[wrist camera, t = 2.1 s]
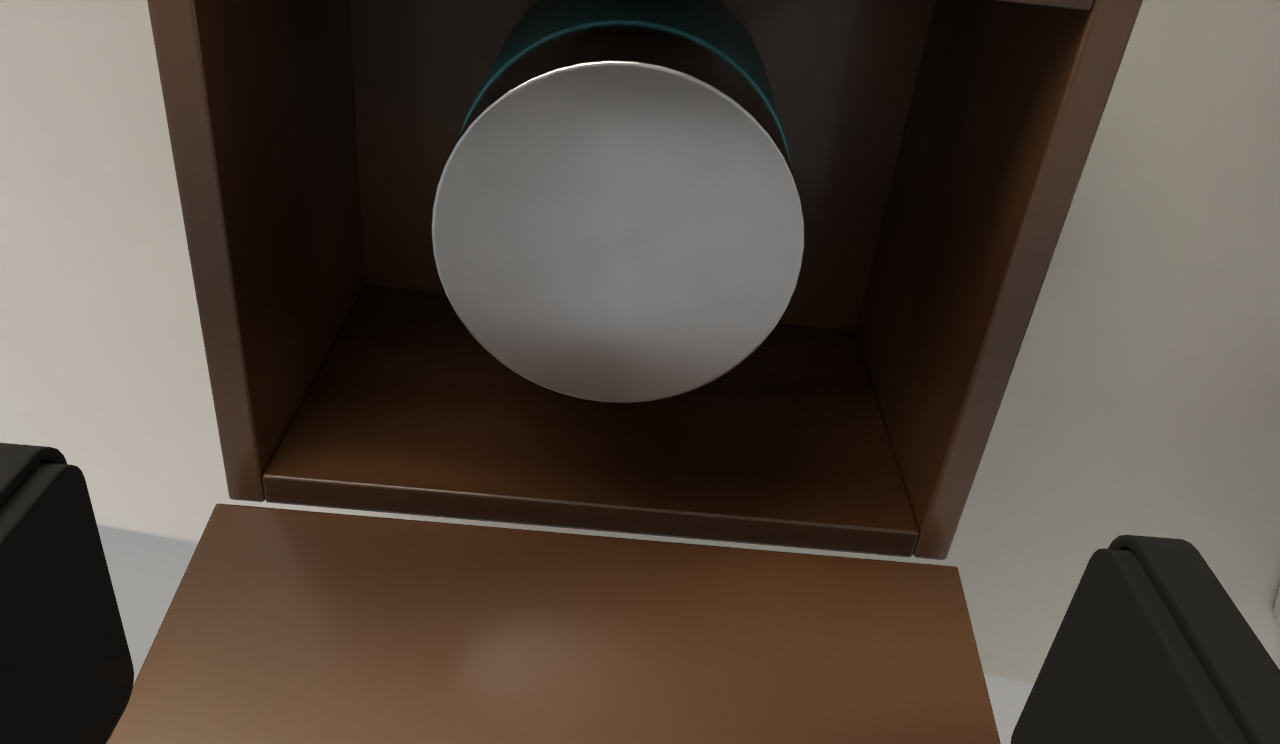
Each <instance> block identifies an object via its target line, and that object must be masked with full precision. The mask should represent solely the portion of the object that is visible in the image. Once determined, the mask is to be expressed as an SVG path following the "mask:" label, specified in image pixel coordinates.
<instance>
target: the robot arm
mask: <svg viewBox="0 0 1280 744" xmlns="http://www.w3.org/2000/svg"><path fill="white" fill-rule="evenodd" d="M133 681H134V670H133V664H132V660H131V656H130V652H129V649H128V645H127V641H126V637H125V633H124V629H123V625H122V621H121V617H120V613H119V610H118V606H117V602H116V598H115V594H114V590H113V586H112V582H111V579H110V575H109V571H108V567H107V563H106V559H105V555H104V552H103V548H102V544H101V540H100V536H99V532H98V528H97V524H96V520H95V516H94V512H93V509H92V505H91V501H90V497H89V493H88V489H87V485H86V481H85V478H84V475H83V473H82V471H81V470H80V469H79V468H78V467H77V466H73V465H68V464H67V462H66V460H65V457H64V455H63V454H62V453H61V452H60V451H59V450H58V449H55V448H51V447H43V446H31V445H18V444H6V443H0V744H106V743H107V741H108V739H109V738H110V736H111V734H112V732H113V730H114V729H115V727H116V725H117V723H118V722H119V720H120V718H121V716H122V714H123V713H124V711H125V709H126V706H127V704H128V702H129V699H130V696H131V693H132V688H133ZM1011 744H1280V670H1279V669H1278V667H1277V666H1276V664H1275V663H1274V661H1273V660H1272V658H1271V657H1270V655H1269V654H1268V653H1267V651H1266V650H1265V648H1264V647H1263V645H1262V644H1261V642H1260V641H1259V639H1258V638H1257V636H1256V635H1255V634H1254V632H1253V631H1252V629H1251V628H1250V626H1249V625H1248V623H1247V622H1246V620H1245V619H1244V617H1243V616H1242V614H1241V613H1240V612H1239V610H1238V609H1237V607H1236V606H1235V604H1234V603H1233V601H1232V600H1231V598H1230V597H1229V595H1228V594H1227V593H1226V591H1225V590H1224V588H1223V587H1222V585H1221V584H1220V582H1219V581H1218V579H1217V578H1216V576H1215V575H1214V573H1213V572H1212V571H1211V569H1210V568H1209V566H1208V565H1207V563H1206V562H1205V560H1204V559H1203V557H1202V556H1201V554H1200V553H1199V552H1198V550H1197V549H1196V548H1195V547H1194V546H1193V545H1192V544H1191V543H1189V542H1187V541H1185V540H1183V539H1171V538H1158V537H1146V536H1134V535H1122V536H1119V537H1117V538H1116V539H1115V540H1113V541H1112V543H1111V544H1110V546H1109V548H1108V549H1098V550H1097V551H1096V552H1094V553H1093V555H1092V557H1091V558H1090V560H1089V562H1088V565H1087V567H1086V569H1085V571H1084V574H1083V576H1082V578H1081V580H1080V583H1079V585H1078V587H1077V589H1076V592H1075V594H1074V596H1073V598H1072V601H1071V603H1070V605H1069V607H1068V610H1067V612H1066V614H1065V616H1064V619H1063V621H1062V623H1061V625H1060V628H1059V630H1058V632H1057V634H1056V637H1055V639H1054V641H1053V643H1052V646H1051V648H1050V650H1049V652H1048V655H1047V657H1046V659H1045V661H1044V664H1043V666H1042V668H1041V670H1040V673H1039V675H1038V677H1037V679H1036V682H1035V684H1034V686H1033V689H1032V691H1031V693H1030V695H1029V697H1028V700H1027V702H1026V705H1025V706H1024V709H1023V711H1022V713H1021V716H1020V718H1019V720H1018V722H1017V725H1016V727H1015V729H1014V731H1013V735H1012V738H1011Z"/></svg>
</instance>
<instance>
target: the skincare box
mask: <svg viewBox="0 0 1280 744" xmlns="http://www.w3.org/2000/svg"><path fill="white" fill-rule="evenodd" d="M1273 616H1274V617H1275V618H1276V619H1277V620H1278V621H1279V623H1280V586H1279V591H1278V595H1277V598H1276V602H1275V605H1274V609H1273Z"/></svg>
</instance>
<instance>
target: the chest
mask: <svg viewBox="0 0 1280 744" xmlns="http://www.w3.org/2000/svg"><path fill="white" fill-rule="evenodd" d="M147 1H148V7H149V13H150V19H151V25H152V31H153V37H154V43H155V49H156V55H157V61H158V67H159V73H160V79H161V85H162V92H163V98H164V104H165V110H166V116H167V122H168V128H169V134H170V140H171V146H172V152H173V158H174V164H175V170H176V176H177V182H178V188H179V194H180V200H181V207H182V213H183V219H184V225H185V231H186V237H187V243H188V249H189V255H190V261H191V267H192V273H193V279H194V285H195V291H196V297H197V303H198V309H199V315H200V321H201V328H202V334H203V340H204V346H205V352H206V358H207V364H208V370H209V376H210V382H211V388H212V394H213V400H214V406H215V412H216V418H217V424H218V430H219V436H220V443H221V449H222V455H223V461H224V467H225V473H226V479H227V485H228V491H229V497H230V499H234V500H245V501H257V502H263V501H264V500H266V501H267V502H270V503H282V504H294V505H305V506H317V507H329V508H340V509H352V510H364V511H375V512H387V513H399V514H410V515H422V516H434V517H445V518H457V519H469V520H480V521H492V522H504V523H515V524H527V525H539V526H550V527H562V528H574V529H585V530H597V531H609V532H620V533H632V534H644V535H655V536H667V537H679V538H690V539H702V540H714V541H725V542H737V543H749V544H760V545H772V546H784V547H795V548H807V549H818V550H830V551H842V552H853V553H865V554H877V555H888V556H900V557H911V556H912V554H913V556H914V557H916V558H926V559H938V560H944V559H946V557H947V554H948V551H949V548H950V546H951V543H952V540H953V537H954V534H955V531H956V529H957V526H958V523H959V520H960V517H961V514H962V512H963V509H964V506H965V503H966V500H967V497H968V495H969V492H970V489H971V486H972V483H973V480H974V478H975V475H976V472H977V469H978V466H979V463H980V460H981V458H982V455H983V452H984V449H985V446H986V443H987V441H988V438H989V435H990V432H991V429H992V426H993V424H994V421H995V418H996V415H997V412H998V409H999V407H1000V404H1001V401H1002V398H1003V395H1004V392H1005V390H1006V387H1007V384H1008V381H1009V378H1010V375H1011V373H1012V370H1013V367H1014V364H1015V361H1016V358H1017V356H1018V353H1019V350H1020V347H1021V344H1022V341H1023V338H1024V336H1025V333H1026V330H1027V327H1028V324H1029V321H1030V319H1031V316H1032V313H1033V310H1034V307H1035V304H1036V302H1037V299H1038V296H1039V293H1040V290H1041V287H1042V285H1043V282H1044V279H1045V276H1046V273H1047V270H1048V268H1049V265H1050V262H1051V259H1052V256H1053V253H1054V251H1055V248H1056V245H1057V242H1058V239H1059V236H1060V233H1061V231H1062V228H1063V225H1064V222H1065V219H1066V216H1067V214H1068V211H1069V208H1070V205H1071V202H1072V199H1073V197H1074V194H1075V191H1076V188H1077V185H1078V182H1079V180H1080V177H1081V174H1082V171H1083V168H1084V165H1085V163H1086V160H1087V157H1088V154H1089V151H1090V148H1091V146H1092V143H1093V140H1094V137H1095V134H1096V131H1097V129H1098V126H1099V123H1100V120H1101V117H1102V114H1103V111H1104V109H1105V106H1106V103H1107V100H1108V97H1109V94H1110V92H1111V89H1112V86H1113V83H1114V80H1115V77H1116V75H1117V72H1118V69H1119V66H1120V63H1121V60H1122V58H1123V55H1124V52H1125V49H1126V46H1127V43H1128V41H1129V38H1130V35H1131V32H1132V29H1133V26H1134V24H1135V21H1136V18H1137V15H1138V12H1139V9H1140V6H1141V4H1142V1H1143V0H734V1H735V3H736V4H737V6H738V7H739V9H740V11H741V12H742V14H743V16H744V18H745V20H746V22H747V24H748V26H749V28H750V31H751V34H752V37H753V40H754V43H755V46H756V48H757V50H758V52H759V54H760V56H761V59H762V62H763V65H764V68H765V72H766V75H767V78H768V81H769V85H770V88H771V91H772V94H773V98H774V101H775V104H776V107H777V111H778V114H779V117H780V120H781V123H782V127H783V130H784V133H785V136H786V140H787V143H788V146H789V152H790V158H791V164H792V170H793V173H794V177H795V180H796V183H797V186H798V190H799V193H800V196H801V201H802V207H803V214H804V220H805V247H804V255H803V263H802V268H801V271H800V275H799V279H798V282H797V286H796V289H795V291H794V293H793V295H792V298H791V300H790V302H789V305H788V307H787V309H786V310H785V312H784V314H783V315H782V317H781V319H780V320H779V322H778V323H777V325H776V326H775V328H774V329H773V330H772V331H771V333H770V334H769V335H768V336H767V338H766V339H765V340H764V341H763V343H762V344H761V345H760V346H759V347H758V348H757V349H756V350H755V351H754V352H752V353H751V354H750V355H749V356H748V357H747V358H746V359H745V360H744V361H742V362H741V363H740V364H738V365H737V366H736V367H734V368H733V369H732V370H730V371H729V372H727V373H725V374H724V375H722V376H720V377H718V378H717V379H715V380H713V381H712V382H710V383H707V384H705V385H703V386H700V387H698V388H696V389H693V390H691V391H688V392H685V393H682V394H678V395H675V396H672V397H668V398H662V399H657V400H651V401H643V402H629V403H618V402H601V401H594V400H587V399H581V398H577V397H573V396H569V395H565V394H561V393H558V392H556V391H553V390H551V389H548V388H545V387H543V386H540V385H538V384H536V383H534V382H532V381H530V380H528V379H526V378H524V377H522V376H520V375H519V374H517V373H516V372H514V371H513V370H511V369H510V368H508V367H507V366H505V365H504V364H502V363H501V362H500V361H499V360H498V359H496V358H495V357H494V356H493V355H492V354H490V353H489V352H488V351H487V350H486V349H485V348H484V347H483V346H482V345H481V344H480V343H479V342H478V341H477V340H476V339H475V338H474V337H473V335H472V334H471V333H470V332H469V331H468V329H467V328H466V326H465V325H464V324H463V322H462V321H461V320H460V318H459V317H458V315H457V314H456V312H455V310H454V308H453V306H452V304H451V303H450V301H449V299H448V297H447V295H446V293H445V290H444V288H443V285H442V282H441V280H440V277H439V275H438V271H437V266H436V262H435V258H434V254H433V244H432V233H431V225H432V207H433V202H434V197H435V192H436V187H437V184H438V181H439V178H440V175H441V172H442V170H443V167H444V164H445V162H446V160H447V158H448V156H449V154H450V152H451V150H452V149H453V147H454V145H455V143H456V141H457V139H458V137H459V134H460V132H461V129H462V126H463V123H464V121H465V118H466V115H467V113H468V111H469V109H470V107H471V106H472V104H473V102H474V100H475V98H476V96H477V94H478V92H479V91H480V89H481V87H482V85H483V83H484V81H485V79H486V77H487V75H488V74H489V72H490V70H491V68H492V66H493V64H494V62H495V60H496V59H497V57H498V55H499V53H500V51H501V49H502V47H503V45H504V44H505V42H506V40H507V38H508V36H509V34H510V32H511V31H512V29H513V28H514V27H515V25H516V24H517V23H518V21H519V20H520V18H521V16H522V15H523V13H524V11H525V9H526V7H527V6H528V4H529V3H530V2H531V0H147Z"/></svg>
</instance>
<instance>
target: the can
mask: <svg viewBox="0 0 1280 744" xmlns="http://www.w3.org/2000/svg"><path fill="white" fill-rule="evenodd" d="M431 233H432V244H433V254H434V258H435V262H436V266H437V271H438V275H439V277H440V280H441V282H442V285H443V288H444V290H445V293H446V295H447V297H448V299H449V301H450V303H451V304H452V306H453V308H454V310H455V312H456V314H457V315H458V317H459V318H460V320H461V321H462V322H463V324H464V325H465V326H466V328H467V329H468V331H469V332H470V333H471V334H472V335H473V337H474V338H475V339H476V340H477V341H478V342H479V343H480V344H481V345H482V346H483V347H484V348H485V349H486V350H487V351H488V352H489V353H490V354H492V355H493V356H494V357H495V358H496V359H498V360H499V361H500V362H501V363H502V364H504V365H505V366H507V367H508V368H510V369H511V370H513V371H514V372H516V373H517V374H519V375H520V376H522V377H524V378H526V379H528V380H530V381H532V382H534V383H536V384H538V385H540V386H543V387H545V388H548V389H551V390H553V391H556V392H558V393H561V394H565V395H569V396H573V397H577V398H581V399H587V400H594V401H601V402H618V403H629V402H643V401H651V400H657V399H662V398H668V397H672V396H675V395H678V394H682V393H685V392H688V391H691V390H693V389H696V388H698V387H700V386H703V385H705V384H707V383H710V382H712V381H713V380H715V379H717V378H718V377H720V376H722V375H724V374H725V373H727V372H729V371H730V370H732V369H733V368H734V367H736V366H737V365H738V364H740V363H741V362H742V361H744V360H745V359H746V358H747V357H748V356H749V355H750V354H751V353H752V352H754V351H755V350H756V349H757V348H758V347H759V346H760V345H761V344H762V343H763V341H764V340H765V339H766V338H767V336H768V335H769V334H770V333H771V331H772V330H773V329H774V328H775V326H776V325H777V323H778V322H779V320H780V319H781V317H782V315H783V314H784V312H785V310H786V309H787V307H788V305H789V302H790V300H791V298H792V295H793V293H794V291H795V289H796V286H797V282H798V279H799V275H800V271H801V268H802V263H803V255H804V247H805V220H804V214H803V207H802V201H801V196H800V193H799V190H798V186H797V183H796V180H795V177H794V173H793V170H792V164H791V158H790V152H789V146H788V143H787V140H786V136H785V133H784V130H783V127H782V123H781V120H780V117H779V114H778V111H777V107H776V104H775V101H774V98H773V94H772V91H771V88H770V85H769V81H768V78H767V75H766V72H765V68H764V65H763V62H762V59H761V56H760V54H759V52H758V50H757V48H756V46H755V43H754V40H753V37H752V34H751V31H750V28H749V26H748V24H747V22H746V20H745V18H744V16H743V14H742V12H741V11H740V9H739V7H738V6H737V4H736V3H735V1H734V0H531V2H530V3H529V4H528V6H527V7H526V9H525V11H524V13H523V15H522V16H521V18H520V20H519V21H518V23H517V24H516V25H515V27H514V28H513V29H512V31H511V32H510V34H509V36H508V38H507V40H506V42H505V44H504V45H503V47H502V49H501V51H500V53H499V55H498V57H497V59H496V60H495V62H494V64H493V66H492V68H491V70H490V72H489V74H488V75H487V77H486V79H485V81H484V83H483V85H482V87H481V89H480V91H479V92H478V94H477V96H476V98H475V100H474V102H473V104H472V106H471V107H470V109H469V111H468V113H467V115H466V118H465V121H464V123H463V126H462V129H461V132H460V134H459V137H458V139H457V141H456V143H455V145H454V147H453V149H452V150H451V152H450V154H449V156H448V158H447V160H446V162H445V164H444V167H443V170H442V172H441V175H440V178H439V181H438V184H437V187H436V192H435V197H434V202H433V207H432V225H431Z"/></svg>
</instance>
